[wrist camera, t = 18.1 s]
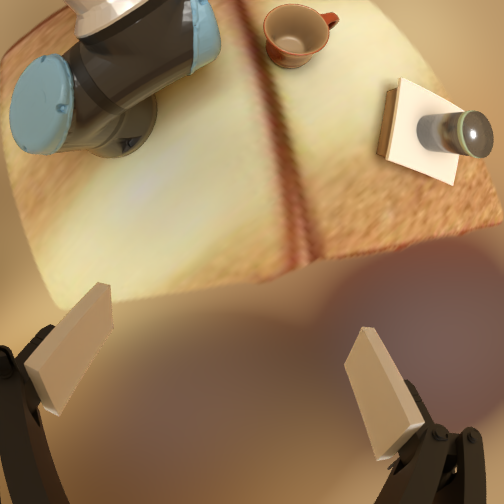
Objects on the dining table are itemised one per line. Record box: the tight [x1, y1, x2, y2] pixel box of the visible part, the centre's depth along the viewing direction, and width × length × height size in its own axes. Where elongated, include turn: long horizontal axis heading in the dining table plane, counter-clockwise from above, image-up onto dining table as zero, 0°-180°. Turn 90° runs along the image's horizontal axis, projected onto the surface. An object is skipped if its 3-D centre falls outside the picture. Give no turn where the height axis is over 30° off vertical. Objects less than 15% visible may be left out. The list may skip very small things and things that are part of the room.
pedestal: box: [377, 77, 465, 186], centre depth 38 cm, size 14×14×7 cm
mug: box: [263, 4, 339, 68], centre depth 32 cm, size 12×9×10 cm
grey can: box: [416, 111, 493, 158], centre depth 29 cm, size 6×6×12 cm
